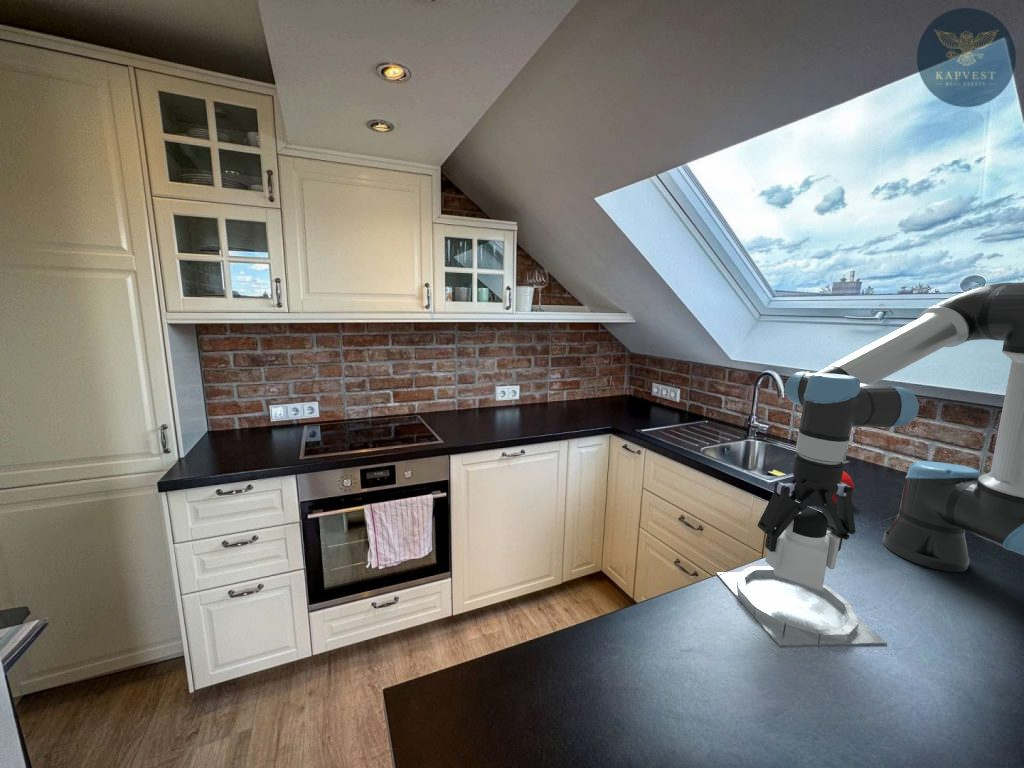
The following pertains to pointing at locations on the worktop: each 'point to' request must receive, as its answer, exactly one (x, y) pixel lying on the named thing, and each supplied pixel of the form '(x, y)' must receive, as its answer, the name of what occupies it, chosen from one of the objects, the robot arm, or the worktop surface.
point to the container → (805, 549)
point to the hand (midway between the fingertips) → (799, 565)
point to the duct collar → (798, 610)
